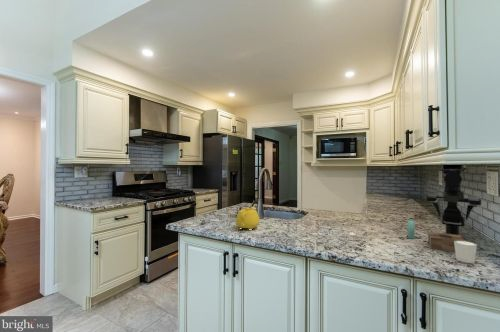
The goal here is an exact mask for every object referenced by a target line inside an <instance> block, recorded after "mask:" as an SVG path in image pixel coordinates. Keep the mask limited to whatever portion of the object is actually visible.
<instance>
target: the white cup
mask: <svg viewBox="0 0 500 332" xmlns="http://www.w3.org/2000/svg"><path fill="white" fill-rule="evenodd" d="M454 246H455V252H454V253H455V260H456V261H459V262H462V263H466V264H474V263H476V256H477V249H478V247H477V246H478V244H476V243H474V242H472V241H466V240H465V241H454Z"/></svg>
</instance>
